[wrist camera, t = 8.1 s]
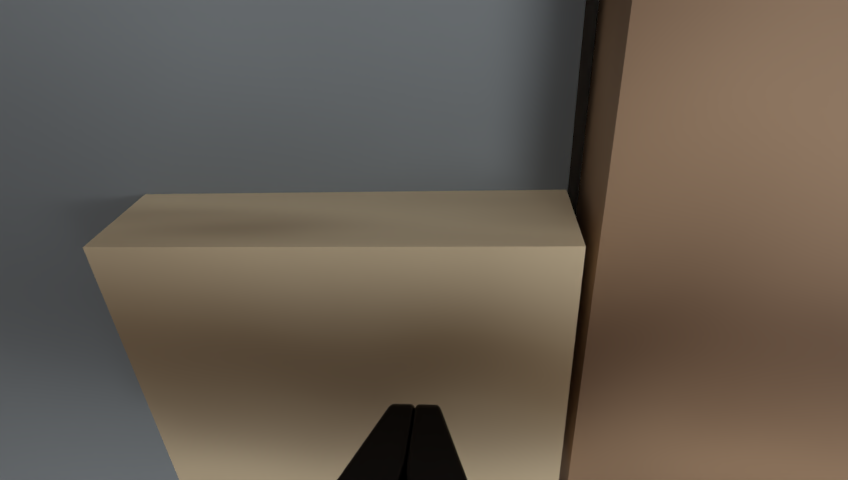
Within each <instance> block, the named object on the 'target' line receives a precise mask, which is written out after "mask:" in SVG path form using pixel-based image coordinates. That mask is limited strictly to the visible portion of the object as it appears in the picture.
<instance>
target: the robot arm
mask: <svg viewBox="0 0 848 480" xmlns="http://www.w3.org/2000/svg"><path fill="white" fill-rule="evenodd" d="M337 480H467V477H466V474H465V472H464V469H463V466H462V464H461V461H460V458H459V456H458V453H457V450H456V448H455V445H454V442H453V440H452V437H451V434H450V432H449V429H448V426H447V424H446V421H445V418H444V416H443V413H442V410H441V408H440V407H439V406H438V405H432V404H418V405H417V406H416V407H414V405H412V404H391V405H390V406H389V407H388V408H387V410H386V411H385V412H384V414H383V415H382V417H381V418H380V420H379V421H378V422H377V424H376V425H375V427H374V428H373V429H372V431H371V432H370V434H369V435H368V437H367V438H366V439H365V441H364V442H363V444H362V445H361V446H360V448H359V449H358V451H357V452H356V454H355V455H354V456H353V458H352V459H351V461H350V462H349V463H348V465H347V466H346V468H345V469H344V471H343V472H342V473H341V475H340V476H339V478H338V479H337Z"/></svg>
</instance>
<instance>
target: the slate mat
mask: <svg viewBox="0 0 848 480" xmlns="http://www.w3.org/2000/svg"><path fill="white" fill-rule="evenodd" d="M585 4H586V0H0V480H179V478H178V476H177V473H176V471H175V469H174V466H173V464H172V461H171V459H170V457H169V454H168V452H167V449H166V447H165V445H164V442H163V440H162V437H161V435H160V433H159V430H158V428H157V425H156V423H155V420H154V418H153V416H152V413H151V411H150V408H149V406H148V404H147V401H146V399H145V396H144V394H143V392H142V389H141V387H140V384H139V382H138V380H137V377H136V375H135V372H134V370H133V367H132V365H131V363H130V360H129V358H128V355H127V353H126V351H125V348H124V346H123V343H122V341H121V339H120V336H119V334H118V331H117V329H116V327H115V324H114V322H113V319H112V317H111V315H110V312H109V310H108V307H107V305H106V302H105V300H104V298H103V295H102V293H101V290H100V288H99V286H98V283H97V281H96V278H95V276H94V274H93V271H92V269H91V266H90V264H89V262H88V259H87V257H86V254H85V252H84V250H83V247H84V246H85V245H86V244H87V243H88V242H90V241H91V240H92V239H93V238H94V237H95V236H97V235H98V234H99V233H100V232H101V231H103V230H104V229H105V228H106V227H107V226H108V225H110V224H111V223H112V222H113V221H114V220H115V219H117V218H118V217H119V216H120V215H121V214H122V213H124V212H125V211H126V210H127V209H128V208H130V207H131V206H132V205H133V204H134V203H135V202H137V201H138V200H139V199H140V198H141V197H142V196H144V195H145V194H208V193H301V192H393V191H485V190H567V193H568V183H569V173H570V162H571V152H572V141H573V131H574V120H575V110H576V99H577V89H578V78H579V67H580V57H581V46H582V36H583V25H584V15H585Z"/></svg>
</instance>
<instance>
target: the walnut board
mask: <svg viewBox="0 0 848 480" xmlns="http://www.w3.org/2000/svg"><path fill="white" fill-rule="evenodd" d="M576 219H577V222H578V225H579V228H580V231H581V234H582V237H583V240H584V243H585V245H586V249H585V258H584V267H583V275H582V284H581V293H580V301H579V310H578V319H577V327H576V336H575V345H574V353H573V362H572V371H571V379H570V388H569V397H568V405H567V414H566V422H565V431H564V440H563V448H562V457H561V466H560V474H559V480H848V0H599V6H598V15H597V25H596V34H595V43H594V53H593V62H592V72H591V81H590V91H589V100H588V109H587V119H586V128H585V138H584V147H583V157H582V166H581V175H580V185H579V194H578V204H577V213H576Z"/></svg>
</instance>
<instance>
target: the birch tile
mask: <svg viewBox="0 0 848 480" xmlns="http://www.w3.org/2000/svg"><path fill="white" fill-rule="evenodd" d="M585 249H586V245H585V243H584V240H583V237H582V234H581V231H580V228H579V225H578V222H577V219H576V216H575V213H574V210H573V208H572V205H571V202H570V199H569V196H568V193H567V190H485V191H393V192H301V193H208V194H145V195H144V196H142V197H141V198H140V199H139V200H138V201H137V202H135V203H134V204H133V205H132V206H131V207H130V208H128V209H127V210H126V211H125V212H124V213H122V214H121V215H120V216H119V217H118V218H117V219H115V220H114V221H113V222H112V223H111V224H110V225H108V226H107V227H106V228H105V229H104V230H103V231H101V232H100V233H99V234H98V235H97V236H95V237H94V238H93V239H92V240H91V241H90V242H88V243H87V244H86V245H85V246H84V247H83V250H84V252H85V254H86V257H87V259H88V262H89V264H90V266H91V269H92V271H93V274H94V276H95V278H96V281H97V283H98V286H99V288H100V290H101V293H102V295H103V298H104V300H105V302H106V305H107V307H108V310H109V312H110V315H111V317H112V319H113V322H114V324H115V327H116V329H117V331H118V334H119V336H120V339H121V341H122V343H123V346H124V348H125V351H126V353H127V355H128V358H129V360H130V363H131V365H132V367H133V370H134V372H135V375H136V377H137V380H138V382H139V384H140V387H141V389H142V392H143V394H144V396H145V399H146V401H147V404H148V406H149V408H150V411H151V413H152V416H153V418H154V420H155V423H156V425H157V428H158V430H159V433H160V435H161V437H162V440H163V442H164V445H165V447H166V449H167V452H168V454H169V457H170V459H171V461H172V464H173V466H174V469H175V471H176V473H177V476H178V478H179V480H337V479H338V478H339V476H340V475H341V473H342V472H343V471H344V469H345V468H346V466H347V465H348V463H349V462H350V461H351V459H352V458H353V456H354V455H355V454H356V452H357V451H358V449H359V448H360V446H361V445H362V444H363V442H364V441H365V439H366V438H367V437H368V435H369V434H370V432H371V431H372V429H373V428H374V427H375V425H376V424H377V422H378V421H379V420H380V418H381V417H382V415H383V414H384V412H385V411H386V410H387V408H388V407H389V406H390V405H391V404H412V405H414V407H416V406H417V405H418V404H432V405H438V406H439V407H440V408H441V410H442V413H443V416H444V418H445V421H446V424H447V426H448V429H449V432H450V434H451V437H452V440H453V442H454V445H455V448H456V450H457V453H458V456H459V458H460V461H461V464H462V466H463V469H464V472H465V474H466V477H467V480H559V474H560V466H561V457H562V448H563V440H564V431H565V422H566V414H567V405H568V397H569V388H570V379H571V371H572V362H573V353H574V345H575V336H576V327H577V319H578V310H579V301H580V293H581V284H582V275H583V267H584V258H585Z"/></svg>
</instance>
